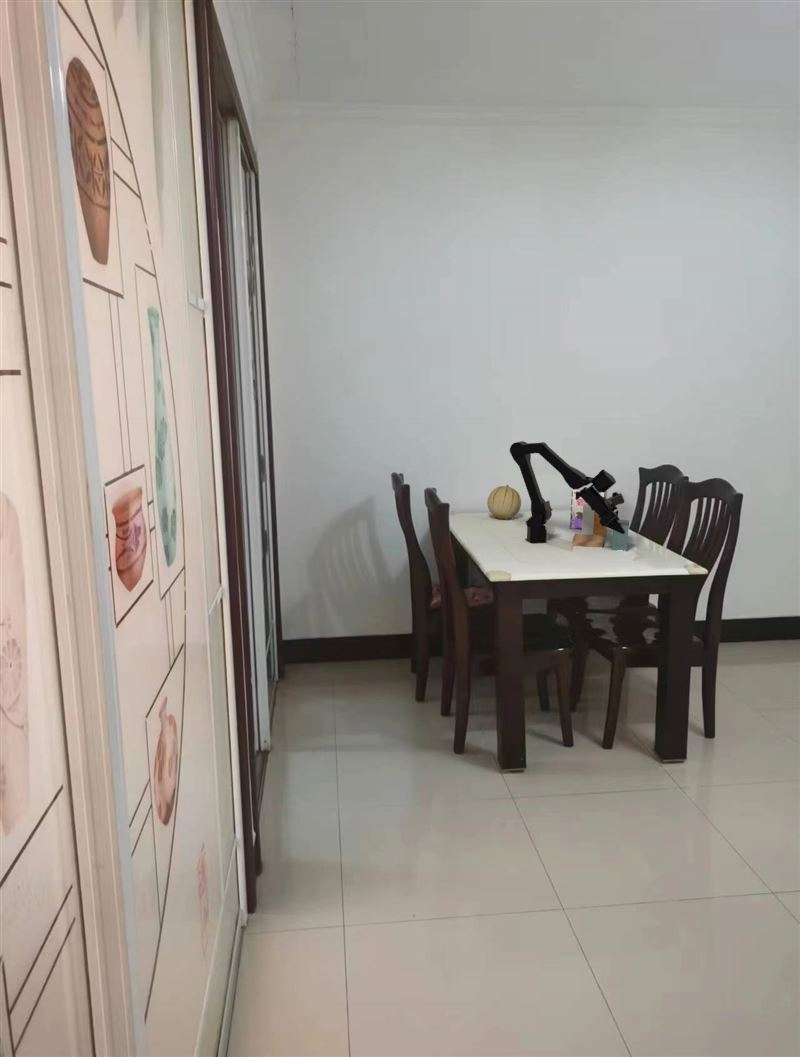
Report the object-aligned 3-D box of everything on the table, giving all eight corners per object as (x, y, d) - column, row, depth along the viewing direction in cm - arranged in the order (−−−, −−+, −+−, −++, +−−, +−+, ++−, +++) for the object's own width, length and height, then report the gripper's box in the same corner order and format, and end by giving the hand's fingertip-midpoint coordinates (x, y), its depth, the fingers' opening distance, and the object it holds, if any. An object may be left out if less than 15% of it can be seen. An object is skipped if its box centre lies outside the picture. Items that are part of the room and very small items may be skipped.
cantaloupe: (485, 520, 347) (486, 486, 344) (488, 515, 361) (489, 482, 358) (519, 522, 344) (520, 488, 341) (521, 516, 358) (522, 483, 355)
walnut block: (572, 546, 299) (572, 539, 298) (574, 541, 309) (575, 533, 308) (602, 549, 295) (602, 541, 295) (603, 543, 306) (604, 535, 305)
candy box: (569, 528, 331) (571, 489, 327) (571, 526, 336) (573, 487, 333) (603, 531, 326) (605, 491, 322) (605, 528, 331) (607, 489, 328)
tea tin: (611, 550, 291) (612, 522, 289) (611, 546, 297) (613, 519, 295) (627, 551, 290) (629, 522, 288) (627, 548, 295) (629, 520, 293)
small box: (593, 538, 312) (594, 505, 309) (581, 535, 317) (582, 503, 314) (607, 536, 316) (609, 503, 314) (595, 533, 321) (597, 501, 319)
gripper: (611, 489, 281) (641, 521, 280) (612, 482, 298) (641, 513, 298) (587, 510, 285) (617, 542, 284) (590, 502, 302) (618, 532, 301)
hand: (624, 531), depth 291 cm, fingers closed on tea tin, 5 cm apart
